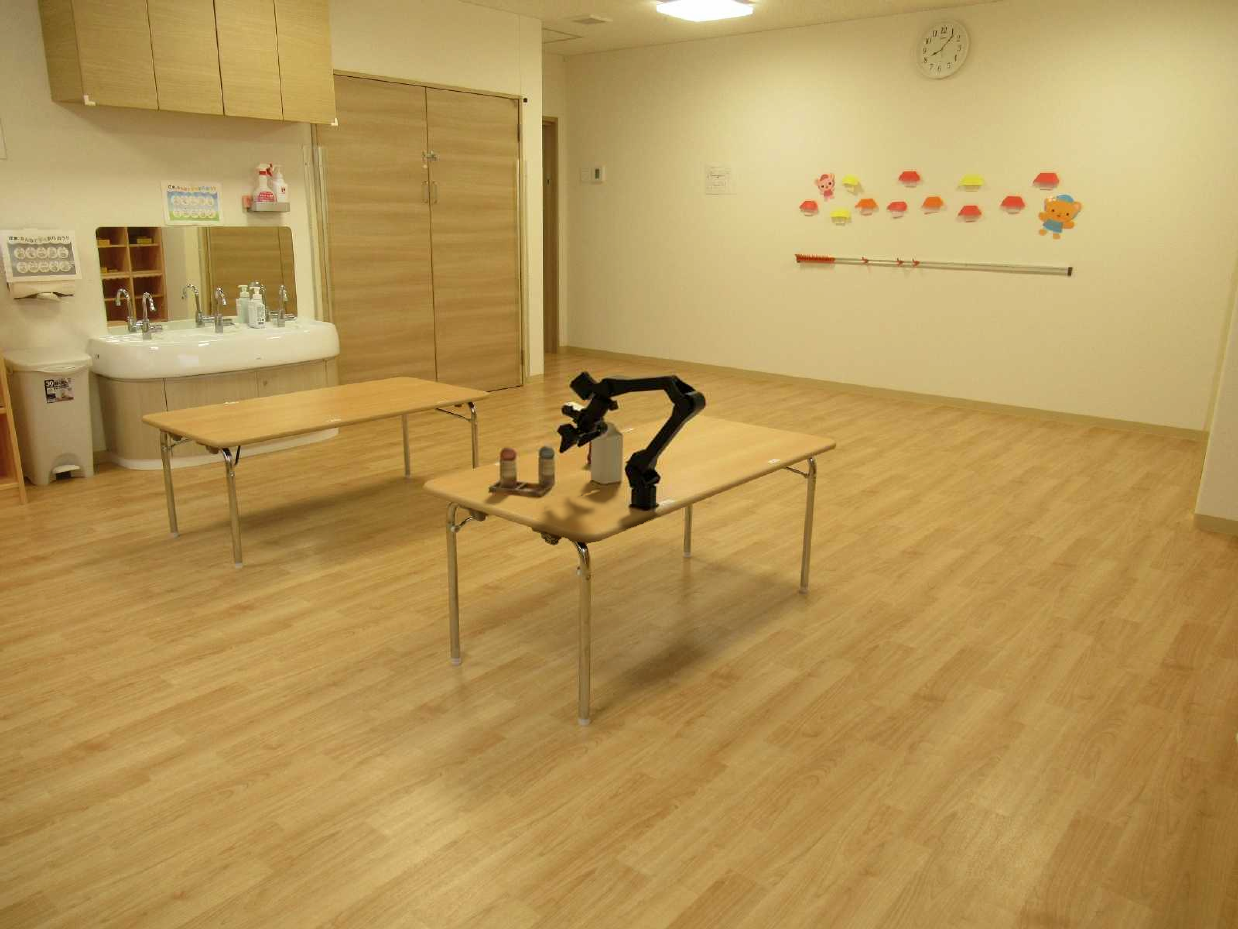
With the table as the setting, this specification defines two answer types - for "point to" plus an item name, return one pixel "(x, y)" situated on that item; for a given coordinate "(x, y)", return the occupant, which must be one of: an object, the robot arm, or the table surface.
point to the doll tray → (523, 489)
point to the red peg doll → (508, 468)
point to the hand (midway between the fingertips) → (569, 449)
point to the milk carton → (607, 456)
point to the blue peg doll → (546, 466)
